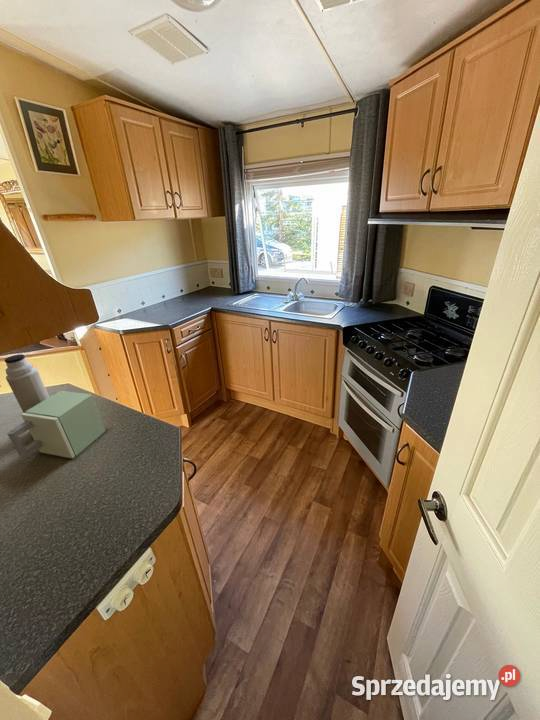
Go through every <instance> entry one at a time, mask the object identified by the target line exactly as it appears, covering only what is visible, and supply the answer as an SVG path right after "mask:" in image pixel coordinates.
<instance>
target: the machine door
mask: <svg viewBox="0 0 540 720" xmlns="http://www.w3.org/2000/svg"><path fill="white" fill-rule="evenodd" d="M20 415H21V418H22V419H23V422H22V423H20V424H19V425H17V426H16V427H14V428H12V429H11V430H9V431H8V432H7V433H6V434H7V437H8V438H9V440H10V441H11V444H12V445H13V447H14V448H15V450H16V452H17V455H18V456H19V458H20V459H23V460H24V459H26V458H27V457H29V456H30V455H32V454H33V453H35V452H36V451H37V450H39V452H40V453H42V454H47V455H52V456H56V457H57V456H58V457H62V458H68V459H74V458H75V457H76V456H75V455H74V453H73V450H72V448H71V446H70V444H69V441H68V439H67V437H66V435H65V433H64V430H63V428H62V426H61V424H60V421H59V419H58V418H55V417H49V416H42V415H36V414H29V413H23V412H22V413H21V414H20ZM27 431H29V433H30V436H31V438H32V439H33V441H32V442H31V443H29V444H28V445H26V447H25V446H24V444H23V442H22V439H20V436H21V435H23V434H24V433H26V432H27Z"/></svg>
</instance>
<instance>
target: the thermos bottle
mask: <svg viewBox="0 0 540 720" xmlns="http://www.w3.org/2000/svg"><path fill="white" fill-rule="evenodd" d="M4 363H5V365H6V367H7V368H6V369H5V374H6V376H5V380H6V381H7V384H8V386H9V387H10V389H11V391H12V393H13V395H14V397H15V399H16V401H17V403H18V405H19V407H20V409H21V411H22V414H23V413H25V411H27V410H29V409H31V408H32V407H34V406H36V405H37V404H39V403H41V402H42V401H44V400H46V399H47V398H49V397H50V395H49V392H48V391H47V388H46V386H45V384H44V382H43V380H42V377H41V375H40V373H39V370H38V369H37V368H36V367H33V366H34V364H32V363H31V362H29V361H27V359H26V356H25V355H24V354H23V353H22V354H21V353H20V354H19V353H18V354H15V355H11V356H7V357H6V358H4Z"/></svg>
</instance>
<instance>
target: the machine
mask: <svg viewBox="0 0 540 720" xmlns="http://www.w3.org/2000/svg"><path fill="white" fill-rule="evenodd" d="M25 413H29V414H36V415H42V416H49V417H55V418H58V419H59V421H60V424H61V426H62V428H63V430H64V433H65V435H66V437H67V439H68V441H69V444H70V446H71V448H72V450H73V453H74V455H75V457H77V456H78V455H79V454H80V453H82V452H83V451H84V450H85V449H87V447H89V446H90V445H91V444H92V443H93V442H95V441H96V440H97V439H98V438H99V437H101V435H103V434H104V433H105V432H106V429H105V425H104V423H103V420H102V417H101V415H100V413H99V410H98V406H97V405H96V402H95V399H94V397H93V394H92V393H91V394H90V393H83V392H76V391H75V392H74V391H68V390H67V391H66V390H59V391H58V392H56V393H54V394H52V395H50V396H49V398H47V399H46V400H44V401H42V402H41V403H39V404H37V405H36V406H34V407H32V408H31V409H29V410H27V411H25Z"/></svg>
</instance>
